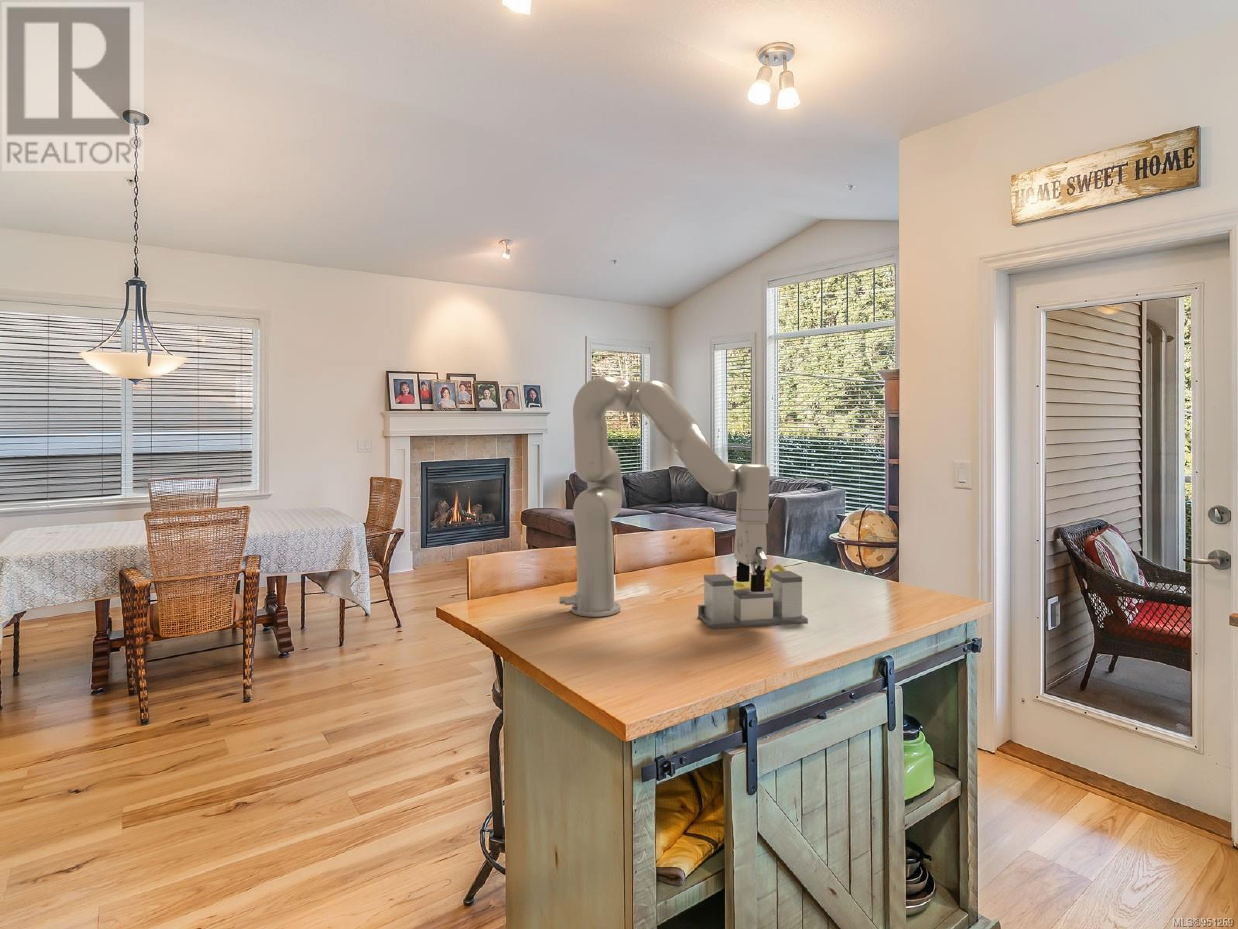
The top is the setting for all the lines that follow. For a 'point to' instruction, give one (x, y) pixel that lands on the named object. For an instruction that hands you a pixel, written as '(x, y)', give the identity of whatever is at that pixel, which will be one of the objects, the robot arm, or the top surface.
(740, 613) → the block
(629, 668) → the top surface
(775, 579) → the grey fixture holder
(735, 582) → the plastic component
